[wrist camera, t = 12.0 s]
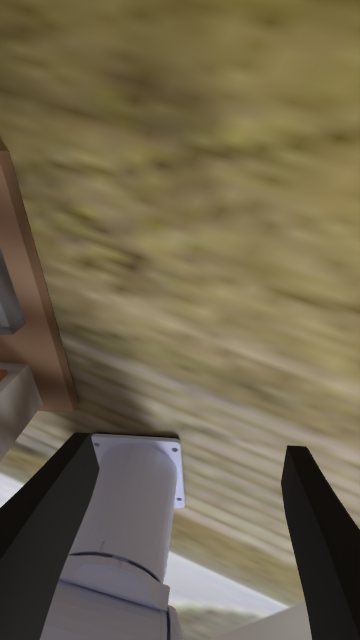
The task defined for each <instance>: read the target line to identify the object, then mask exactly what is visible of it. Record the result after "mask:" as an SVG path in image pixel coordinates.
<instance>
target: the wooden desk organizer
mask: <svg viewBox="0 0 360 640" xmlns="http://www.w3.org/2000/svg"><path fill="white" fill-rule="evenodd" d="M78 405H79V402H78V398H77V395H76V391H75V387H74V384H73V380H72V377H71V373H70V370H69V366H68V362H67V359H66V355H65V352H64V348H63V344H62V341H61V337H60V334H59V330H58V327H57V323H56V319H55V316H54V312H53V309H52V305H51V301H50V298H49V294H48V291H47V287H46V284H45V280H44V276H43V273H42V269H41V266H40V262H39V258H38V255H37V251H36V248H35V244H34V240H33V237H32V233H31V230H30V226H29V223H28V219H27V215H26V212H25V208H24V205H23V201H22V197H21V194H20V190H19V187H18V183H17V180H16V176H15V172H14V169H13V165H12V162H11V158H10V154H9V151H0V461H1V460H2V458H3V457H4V456H5V454H6V453H7V451H8V450H9V449H10V447H11V446H12V445H13V443H14V442H15V441H16V439H17V438H18V437H19V435H20V434H21V432H22V431H23V430H24V428H25V427H26V426H27V424H28V423H29V422H30V420H31V419H32V418H33V416H34V415H35V414H36V412H37V411H55V412H74V411H75V410H76V408H77V406H78Z"/></svg>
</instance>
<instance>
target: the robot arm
mask: <svg viewBox="0 0 360 640" xmlns="http://www.w3.org/2000/svg"><path fill="white" fill-rule="evenodd" d="M281 486H282V494H283V502H284V509H285V516H286V520H287V524H288V529H289V533H290V537H291V541H292V546H293V550H294V554H295V558H296V563H297V567H298V571H299V575H300V579H301V584H302V588H303V592H304V596H305V601H306V606H307V611H308V616H309V622H310V629H311V635H312V640H360V529H359V528H358V527H357V525H356V524H355V522H354V521H353V520H352V518H351V517H350V515H349V514H348V512H347V511H346V509H345V508H344V506H343V505H342V503H341V502H340V500H339V499H338V497H337V496H336V494H335V493H334V491H333V490H332V488H331V487H330V485H329V483H328V482H327V480H326V479H325V477H324V475H323V474H322V472H321V470H320V469H319V467H318V465H317V464H316V462H315V460H314V458H313V457H312V455H311V453H310V451H309V449H308V448H307V447H304V446H288V445H287V450H286V456H285V462H284V468H283V474H282V480H281ZM184 507H185V494H184V480H183V467H182V454H181V442H180V441H179V440H178V439H175V438H161V437H145V436H128V435H112V434H93V435H92V437H91V435H90V433H74V434H73V435H72V436H71V437H70V438H69V439H68V440H67V441H66V442H65V443H64V444H63V445H62V446H61V448H60V449H59V450H58V451H57V452H56V453H55V454H54V455H53V456H52V457H51V458H50V459H49V460H48V461H47V462H46V463H45V465H44V466H43V467H42V468H41V469H40V470H39V471H38V472H37V473H36V474H35V475H34V476H33V477H32V478H31V479H30V480H29V481H28V482H27V483H26V484H25V485H24V486H23V487H22V488H21V489H20V490H19V491H18V492H17V493H16V494H15V495H14V496H13V497H11V498H10V499H9V500H8V501H7V502H6V503H5V504H4V505H3V506H2V507H1V508H0V640H184V636H183V629H182V626H181V623H180V621H179V618H178V614H177V611H176V609H175V608H174V607H172V606H169V605H168V599H169V591H170V587H169V586H167V585H164V584H163V581H164V578H165V574H166V567H167V559H168V552H169V544H170V537H171V529H172V522H173V514H174V508H184Z"/></svg>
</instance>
